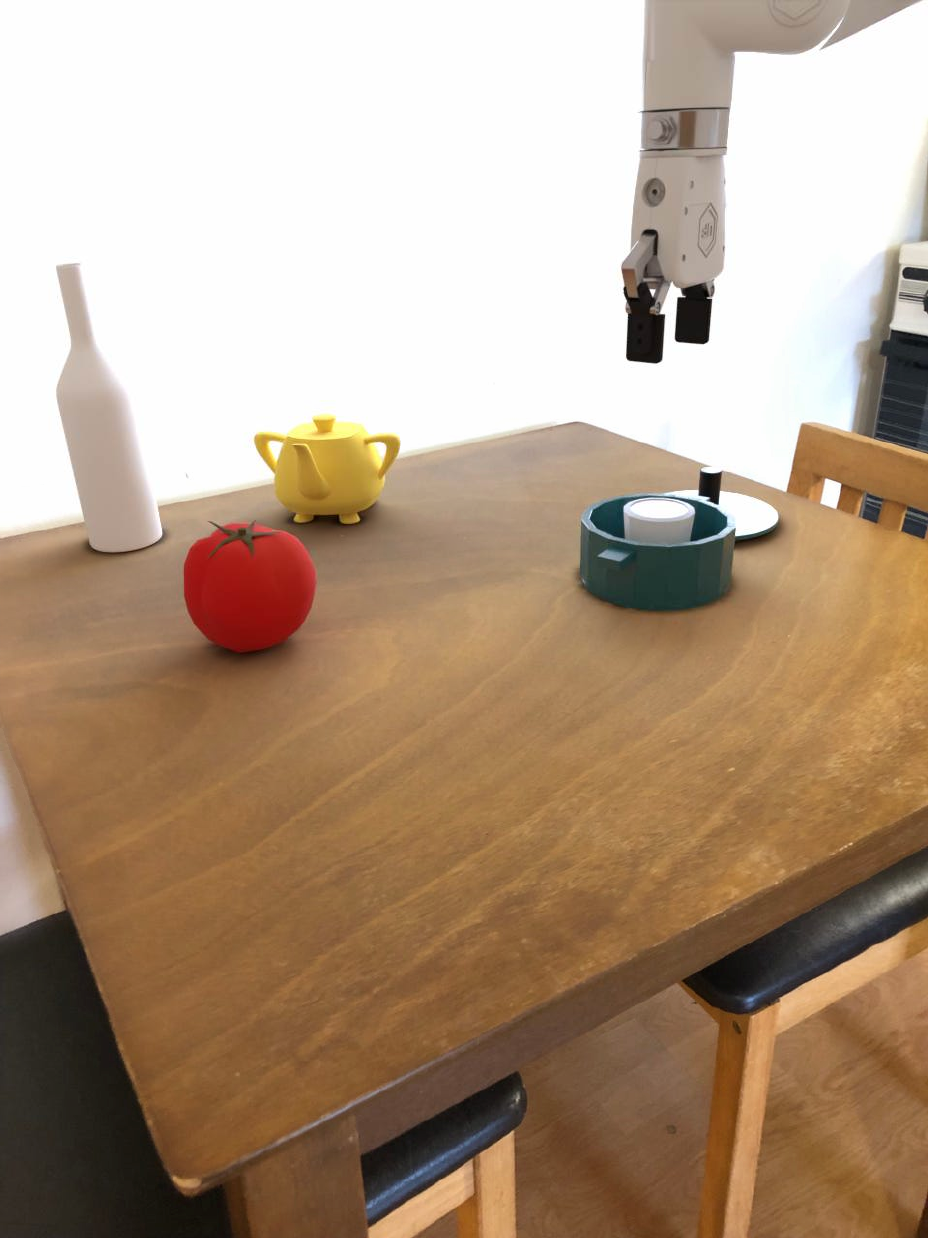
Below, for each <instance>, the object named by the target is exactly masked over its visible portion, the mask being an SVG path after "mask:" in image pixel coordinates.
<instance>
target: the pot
mask: <svg viewBox="0 0 928 1238" xmlns="http://www.w3.org/2000/svg"><path fill="white" fill-rule="evenodd" d="M645 498H668V499H674V500H679V501H682V502H685V503H688V504H690V505H691V506H692V507H694V509H695V516H694V521H693V527H692V532H691V538H690V542H683V543H672V544H663V543H646V542H636V541H632V540H627V539H625V529H624V506H625V505H626V504H627V503H629V502H631V501H634V500H638V499H645ZM735 533H736V517H735V516H733V515H732V514H731V513H730V512H729V511H727V510H726V509H725V508H724V507H722V506H719V505H716V504H714V503H711V502H710V498H708V497H703V496H697V495H691V494H688V495H687V496H681V495H675V494H665V493H654V492H653V493H650V492H644V493H634V494H633V493H632V494H623V495H618V496H614V497H610V498H606V499H601V500H598V501H597V502H594V503H593V504H592V505H590V506H588V507H586V508H585V509H584V511H583V513H582V516H581V519H580V550H579V576H580V581H581V583H582V584H581V585H582V586H583V587H584V588H585V589H586V590H587V591H588V592H589V593H590V594H591V595H593V596H594V597H597V598H598V599H601V600H602V601H605V602H607V603H610V604H612V605H613V604H614V605H617V606H621V607H624V608H628V609H635V610H641V611H642V610H644V611H655V612H657V611H658V612H661V611H662V612H663V611H664V612H669V611H670V612H671V611H682V610H683V611H685V610H690V609H694V608H700V607H703V606H707V605H709V604H712V603H714V602H715V601H718V600H720V598H722V597H724V596H725V595H726V594H727V592H728V590H729V588H730V586H731V579H732V570H733V561H734V551H735V543H736V540H735Z"/></svg>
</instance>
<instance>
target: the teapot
mask: <svg viewBox="0 0 928 1238" xmlns="http://www.w3.org/2000/svg"><path fill="white" fill-rule="evenodd" d="M270 442H277V443H282V445H281V448H280V450H279V454H278V457H277V458H276V457H275V455H274V453H273V451H272V449H271V447H270ZM253 443H254V446H255V449H256V451H257V453H258V455H259V456H260V458H261V459H262V460H263V462H264V463H265V464H266V465H267V467H268V468H269V469H270V470H271V472H272V473H273V474H274V476H273V477H274V479H273V480H274V481H273V488H274V494H275V497H276V499H277V500H278V501H279V503H280V504H281V505H282V506H283V507H284V508H285V509H286V510H288V511H289V512H293V513H296V514H295V516H294V518H293V521H294V522H295V523H308V522H312V521H313V520H314V517H315V516H318V515H319V516H331V515H332V516H333V515H338V518H339V522H340V523H342V524H347V525H348V524H349V525H351V524H355V523H358V522H360V520H361V518H360V516H359V514H358V513H359V512H363V511H365V510H367V509H369V508H370V507H371V506H373V505H374V503H376V502H377V499H378V498H379V496H380V495H381V493H382V491H383V490H384V488H385V483H386V474H387V472H388V471H389V470H390V469H391V467H392V465H393V464H394V462H395V461H396V459H397V457H398V455H399V452H400V450H401V438H400V437H399V435H397V434H395V433H392V432H383V433H375V434H369V432H368V431H367V430H366V428H365V426H363V425H362V424H361V423H359V422H354V421H353V422H351V421H336V415H334V414H331V413H322V414H317V415H314V416H313V417H312V422H306V423H301V424H298V425H296V426H294V427H293V428H292V429H290V430H289V431H288V433H287V434H284V433H280V432H275V431H266V430H262V431H259V432H257V433H256V434H255V435H254V437H253ZM375 443H382V444H384V445H385V453H384V457H383V460H382V458H381V454H380V451H378V449H377V447H376V444H375Z"/></svg>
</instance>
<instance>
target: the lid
mask: <svg viewBox="0 0 928 1238" xmlns="http://www.w3.org/2000/svg"><path fill="white" fill-rule="evenodd" d="M722 477H723V469H722V468H719V467H715V466H705V467H702V468H700V469H699V480H698V489H690V490H689V489H688V490H677V491H670V492H665V493H664V494H675V495H681V496H687V495H688V494H691V495H697V496H703V497H708V498H710V502H711V503H714V504H716V505H719V506H722V507H724V508H725V509H726V510H727V511H729V512H730V513H731V514H732V515H733V516H735V517H736V533H735V541H741V540H742V541H743V540H747V539H748V540H749V539H753V538H757V537H760V536H763V535H765V534H768V533H769V532H772V531H773V530H774V529H775V528H776V527H777V526H778V523H779V519H780V518H779V513H778V511H777V510H776V509H775V508H774V507H773V506H772V505H770V504H768V503H767V502H765V501H763V500H760V499H758V498H755V497H751V496H750V495H749V496H748V495H745V494H741V493H735V492H729V491H722V490H721V488H722Z"/></svg>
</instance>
